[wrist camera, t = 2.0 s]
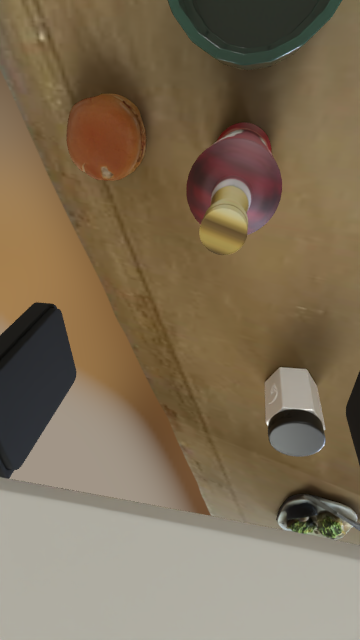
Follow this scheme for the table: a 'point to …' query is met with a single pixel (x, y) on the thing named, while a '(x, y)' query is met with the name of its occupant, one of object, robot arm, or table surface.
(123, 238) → the table surface
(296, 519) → the salad plate
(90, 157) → the burger
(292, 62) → the table surface
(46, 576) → the robot arm
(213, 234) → the liquor
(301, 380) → the jar
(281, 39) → the ice bucket
